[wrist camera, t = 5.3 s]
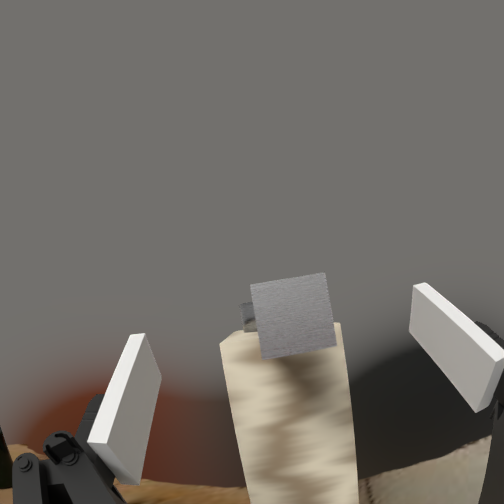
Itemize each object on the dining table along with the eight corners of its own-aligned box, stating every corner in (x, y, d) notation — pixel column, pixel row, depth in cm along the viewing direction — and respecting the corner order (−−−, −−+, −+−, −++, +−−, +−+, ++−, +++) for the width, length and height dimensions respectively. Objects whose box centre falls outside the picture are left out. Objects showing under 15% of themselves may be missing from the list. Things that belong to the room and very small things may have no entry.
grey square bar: (299, 321, 37) (292, 283, 38) (376, 336, 12) (355, 227, 13) (244, 330, 37) (238, 291, 38) (219, 366, 12) (201, 251, 13)
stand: (333, 528, 32) (307, 319, 39) (358, 594, 16) (339, 323, 23) (274, 539, 32) (235, 331, 38) (279, 609, 16) (219, 343, 23)
